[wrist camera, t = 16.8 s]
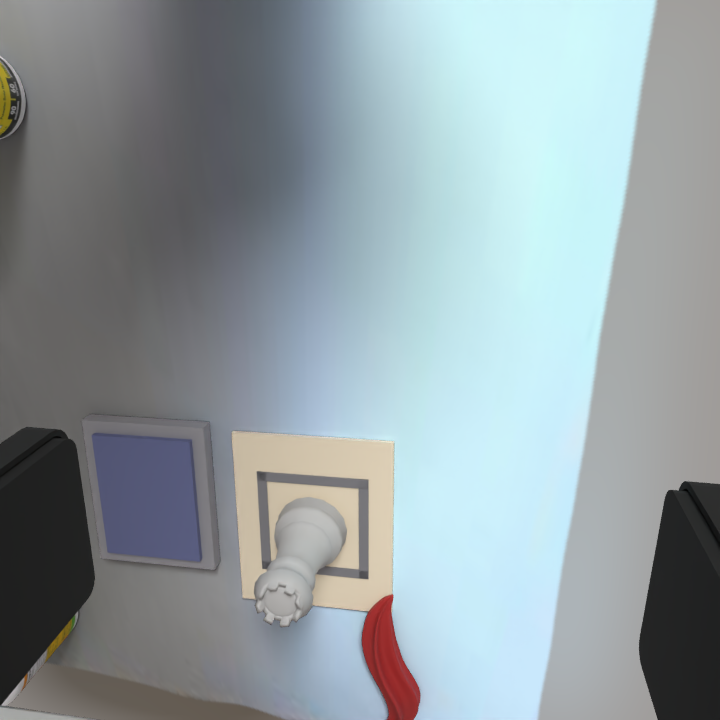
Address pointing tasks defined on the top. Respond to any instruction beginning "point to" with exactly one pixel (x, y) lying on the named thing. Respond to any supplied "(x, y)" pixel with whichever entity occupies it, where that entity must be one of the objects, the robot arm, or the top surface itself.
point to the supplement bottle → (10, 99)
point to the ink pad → (153, 490)
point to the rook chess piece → (299, 558)
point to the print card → (326, 482)
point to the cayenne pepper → (389, 662)
